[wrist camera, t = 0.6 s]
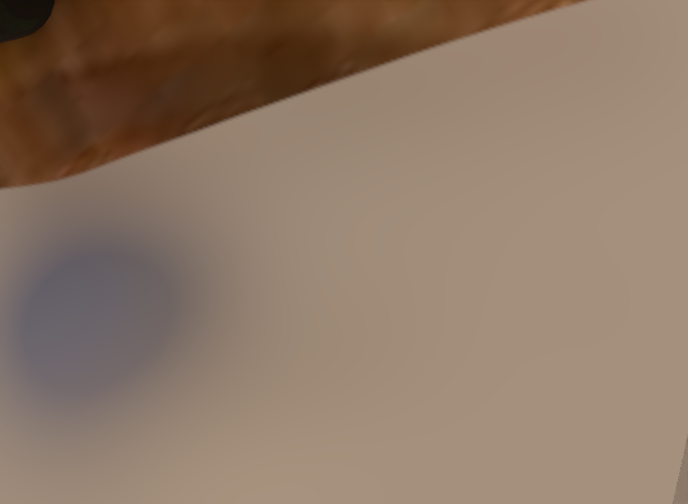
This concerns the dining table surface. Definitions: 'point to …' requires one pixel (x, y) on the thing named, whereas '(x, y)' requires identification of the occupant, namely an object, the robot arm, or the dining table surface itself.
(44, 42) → the dining table surface
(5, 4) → the cup
